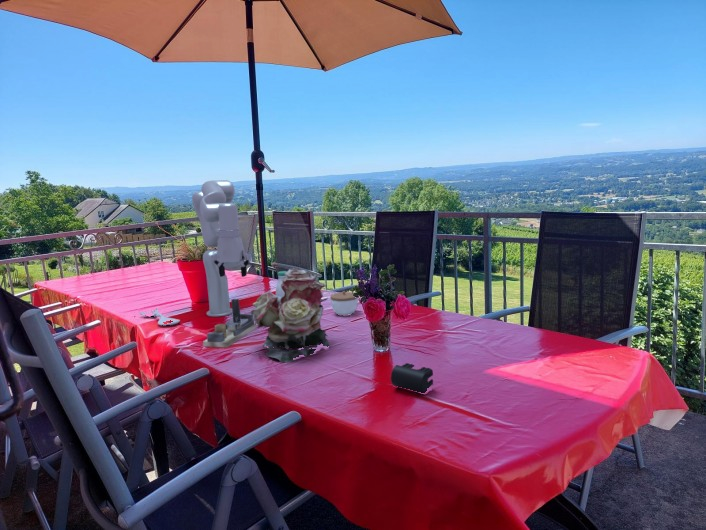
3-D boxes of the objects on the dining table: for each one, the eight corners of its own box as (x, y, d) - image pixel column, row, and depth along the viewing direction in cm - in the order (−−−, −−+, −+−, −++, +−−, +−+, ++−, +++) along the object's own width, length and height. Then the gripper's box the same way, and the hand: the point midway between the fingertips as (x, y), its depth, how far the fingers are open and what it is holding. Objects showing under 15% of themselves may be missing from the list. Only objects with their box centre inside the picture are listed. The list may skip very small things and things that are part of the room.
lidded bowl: (347, 319, 203) (346, 295, 201) (325, 315, 210) (324, 292, 208) (363, 312, 212) (363, 289, 211) (342, 309, 220) (341, 287, 218)
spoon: (157, 313, 229) (156, 307, 228) (184, 325, 205) (183, 317, 205) (138, 317, 223) (138, 310, 222) (163, 330, 199) (163, 322, 199)
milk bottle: (290, 314, 214) (287, 273, 211) (274, 314, 216) (271, 273, 213) (295, 310, 222) (292, 270, 219) (280, 310, 223) (277, 270, 220)
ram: (223, 330, 186) (221, 302, 184) (233, 324, 193) (231, 297, 191) (239, 331, 184) (236, 302, 182) (248, 325, 192) (246, 298, 190)
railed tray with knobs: (203, 346, 174) (201, 331, 173) (235, 327, 198) (234, 313, 197) (226, 347, 172) (225, 332, 171) (256, 327, 195) (255, 314, 195)
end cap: (390, 391, 129) (390, 368, 127) (404, 382, 134) (403, 360, 133) (421, 399, 122) (421, 375, 121) (434, 390, 128) (434, 367, 127)
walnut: (214, 339, 176) (212, 326, 175) (219, 335, 180) (218, 323, 179) (223, 339, 175) (222, 326, 174) (228, 336, 179) (227, 323, 178)
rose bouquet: (249, 346, 172) (243, 268, 168) (322, 333, 184) (318, 260, 179) (264, 368, 149) (257, 279, 144) (346, 353, 160) (342, 269, 155)
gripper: (205, 235, 182) (209, 277, 185) (244, 234, 178) (248, 278, 180) (215, 234, 189) (219, 274, 192) (253, 233, 185) (256, 274, 188)
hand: (233, 276), depth 186 cm, fingers open, 9 cm apart
